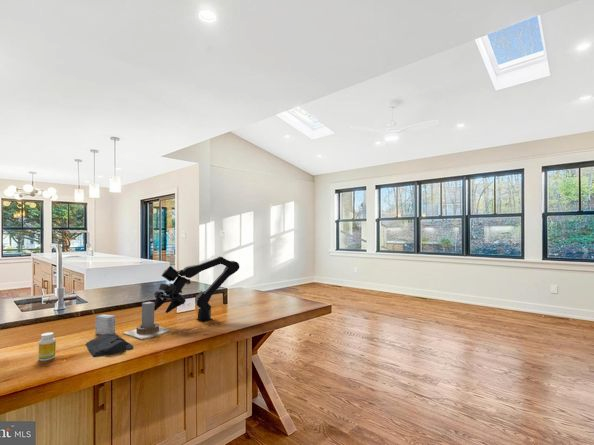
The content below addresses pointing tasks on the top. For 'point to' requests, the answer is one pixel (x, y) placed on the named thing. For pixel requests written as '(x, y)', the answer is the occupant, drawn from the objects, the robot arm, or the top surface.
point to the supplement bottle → (47, 347)
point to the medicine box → (105, 324)
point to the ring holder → (147, 332)
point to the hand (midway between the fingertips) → (160, 311)
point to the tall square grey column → (147, 314)
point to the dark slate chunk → (107, 345)
